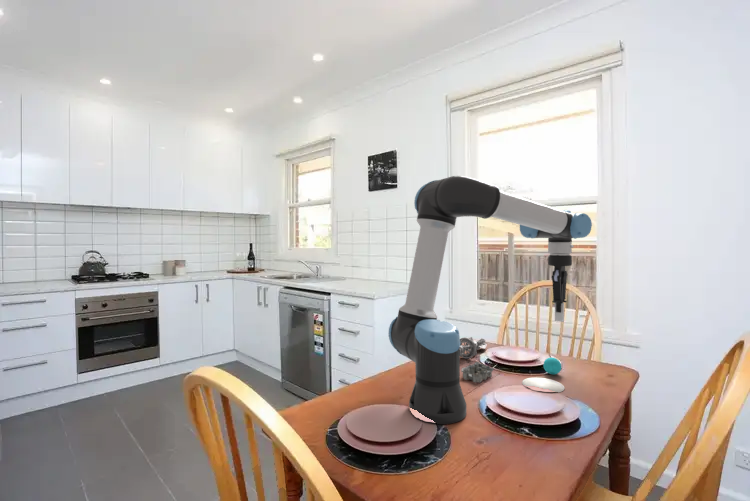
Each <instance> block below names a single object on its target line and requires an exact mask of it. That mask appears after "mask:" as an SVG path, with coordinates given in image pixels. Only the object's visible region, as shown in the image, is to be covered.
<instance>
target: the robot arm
mask: <svg viewBox="0 0 750 501" xmlns="http://www.w3.org/2000/svg"><path fill="white" fill-rule="evenodd" d="M414 210H416V214H417V216H416V223H417V224H418V226H419V233H418V238H417V244H416V247H415V248H416V249H415V251H414V252H415V253H414V258H413V263H412V268H411V272H410V279H409V284H408V289H407V293H406V298H405V303H404V305H402V306H400V307H399V309H398V313H397V316H396V317H395V318H394V319H392V321H391V323H390V324H389V327H388V340H389V343H390V344H391V346H392V347H393V348H394V349H395V351H397V353H398V354H400V355H402V356H404V357H406V358H408V359H409V361H410V360H411V361H412V362H414V364H415V382H414V385H413V388H412V391H411V394H410V398H409V400H408V402H409V403H408V405H409V406H408V408H409V407H410V408H412V409H414V410H417V411H418V412H419V413H421V414H422V415H424V416H425V417H427V418H429V419H431V420H433V421H434V422H436V423H437V424H436V425H450V424H454V423H458V422H460V421H462V420H464V419H465V418H466V417H467V401H466V400H465V395H464V393H463V389H462V386H461V382H460V379H461V378H460V376H461V373H460V372H461V370H460V368H461V366H460V365H461V364H460V363H461V362H460V361H461V360H460V359H461V357H460V339H461V336H460V332H459V329H458V327H457V326H456V325H454V324H453V323H451V322H449V321H446V320H440V319H438V315H437V313H435V310H434V308H435V304H436V298H437V293H438V288H439V283H440V279H441V278H440V277H441V272H442V267H443V261H444V256H445V252H446V247H447V246H446V245H447V241H448V237H449V236H448V235H449V232H450V231H452V230H453V229H454V228H456V226H455V225H456V221H457V218H460V217H461V218H463V217H477V218H482V219H490V218H495V219H499V220H502V221H505V222H509V223H512V224H517V225H519V232H520V234H521V236H523V237H524V238H527V239H547V242H548V243H547V252H548V257H547V261H548V262H547V264H548V266H551V267H552V266H553V270H552V275H551V281H552V299H553V300H552V303H554V321H555V322H560V323H561V322H562V323H564V321H565V303H567V301H568V300H566V296H567V295H566V294H567V280H568V279H567V278H568V271H567V270H566V267H571V266H572V264H573V258H572V257H573V256H572V255H571V254H572V251H573V249H574V248H575V246H574V245H573V244H572V242H573V241H572V240H573V239H582V238H586V237H588V236H589V234H590V233H591V230H592V226H593V222H592V218H591V217H590V216H589V215H588V214H586V213H582V212H581V213H579V212H575V213H573V212H571V210H567V209H564V210H563V209H562V210H560V209H557V208H554V207H552V206H548V205H545V204H542V203H538V202H536V201H532V200H529V199H526V198H523V197H519V196H518V195H514V194H510V193H508V192H504V191H502V190H501V189H500V187H498V185H496V184H492V183H488V182H485V181H483V180H479V179H476V178H473V177H469V176H464V175H452V176H448V177H445V178H442V179H436V180H432V181H429V182H428V183H425V184H423V185H422V186H421V187H420V188H419V189H418V191H417V192H416V194H415V196H414Z"/></svg>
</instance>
